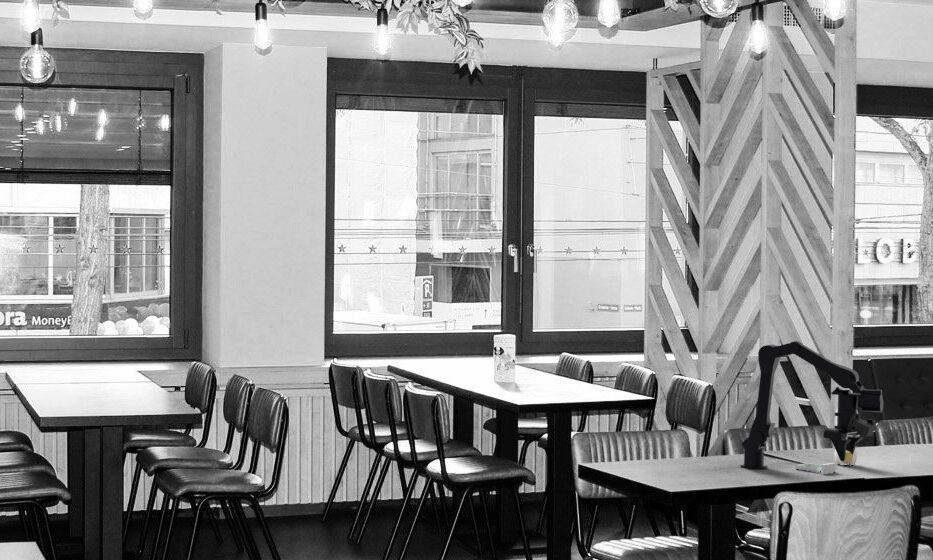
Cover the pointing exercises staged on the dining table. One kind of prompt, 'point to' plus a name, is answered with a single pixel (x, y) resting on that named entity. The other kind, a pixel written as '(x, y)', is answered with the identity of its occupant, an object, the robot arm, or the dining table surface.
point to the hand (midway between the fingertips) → (845, 460)
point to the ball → (847, 457)
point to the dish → (809, 467)
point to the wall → (828, 468)
